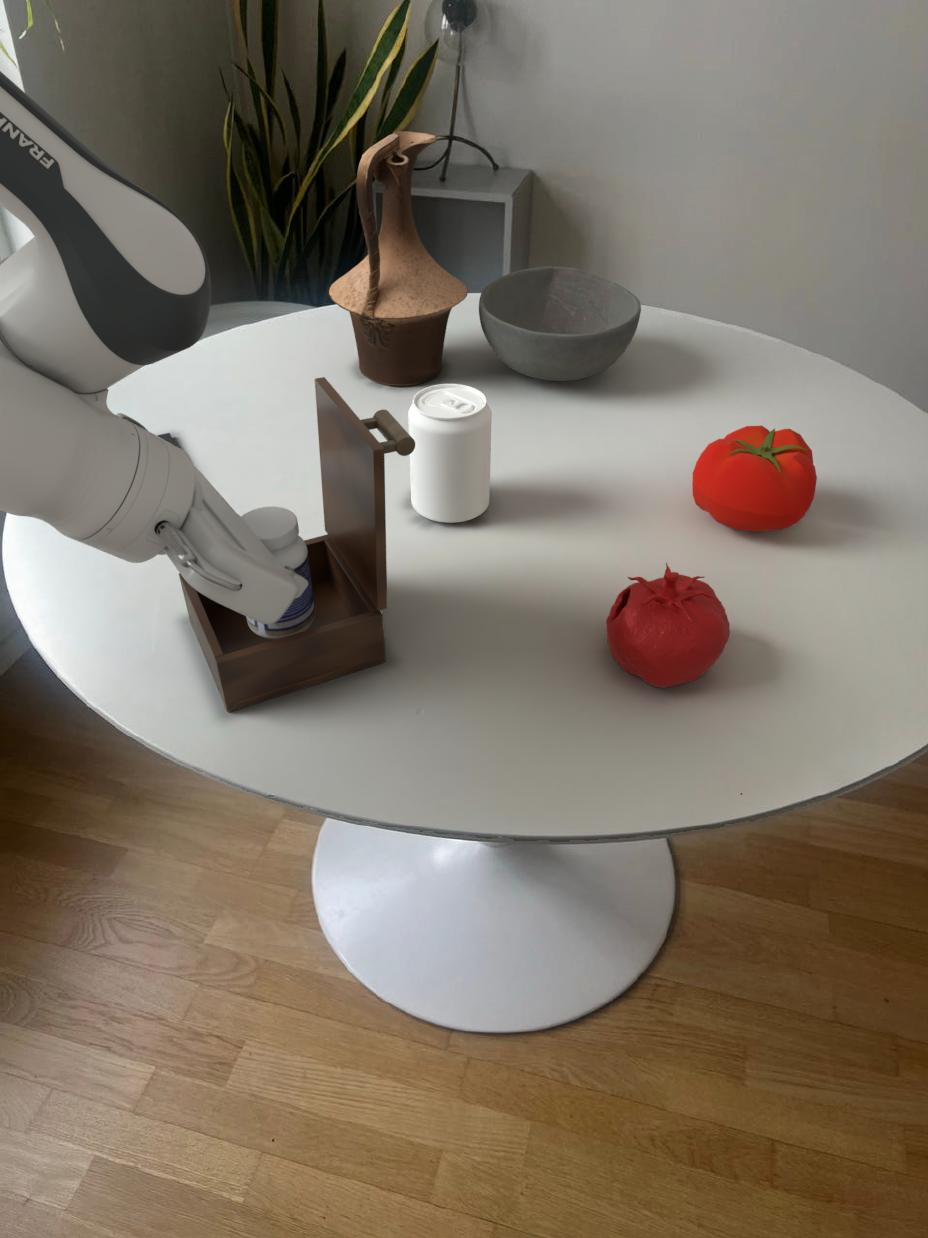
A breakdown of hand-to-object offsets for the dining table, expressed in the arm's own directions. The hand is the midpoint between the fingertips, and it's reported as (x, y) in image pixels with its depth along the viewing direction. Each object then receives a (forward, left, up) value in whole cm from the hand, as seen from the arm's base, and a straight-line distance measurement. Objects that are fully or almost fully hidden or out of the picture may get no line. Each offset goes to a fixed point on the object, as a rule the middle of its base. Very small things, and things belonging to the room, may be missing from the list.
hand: (280, 563), depth 75 cm
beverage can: (+21, +13, -8) cm, 27 cm away
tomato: (+48, -2, -8) cm, 49 cm away
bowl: (+47, +36, -8) cm, 60 cm away
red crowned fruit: (+27, -16, -8) cm, 33 cm away
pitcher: (+29, +45, -8) cm, 55 cm away
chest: (-1, 0, -8) cm, 8 cm away
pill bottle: (-1, 0, -6) cm, 6 cm away
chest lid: (+6, 0, +5) cm, 8 cm away
